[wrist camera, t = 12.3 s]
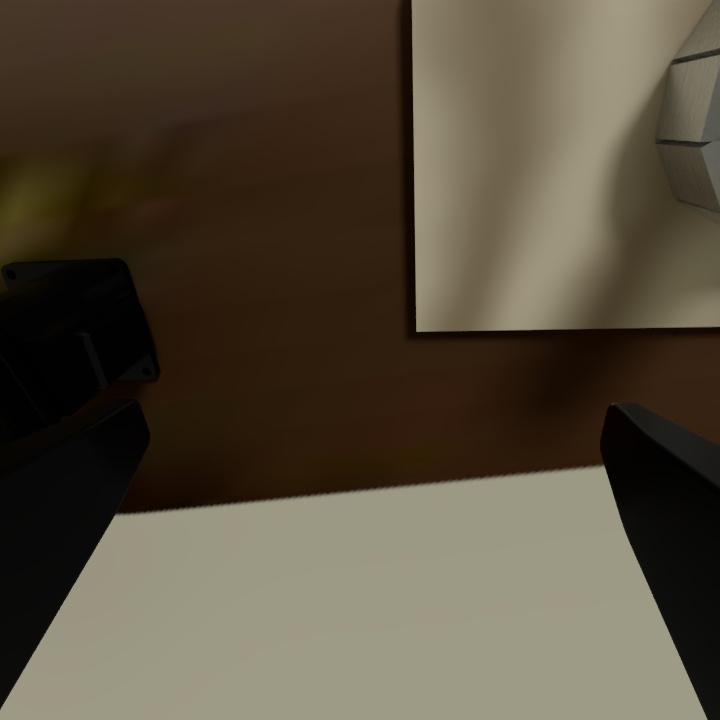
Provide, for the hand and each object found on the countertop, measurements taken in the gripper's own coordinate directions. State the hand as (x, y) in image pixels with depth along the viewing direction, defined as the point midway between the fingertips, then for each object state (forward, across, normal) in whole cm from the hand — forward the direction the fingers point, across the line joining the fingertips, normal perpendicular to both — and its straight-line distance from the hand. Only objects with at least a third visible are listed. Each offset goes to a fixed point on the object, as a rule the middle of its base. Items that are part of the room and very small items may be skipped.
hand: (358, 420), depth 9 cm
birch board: (+13, -10, -3) cm, 17 cm away
